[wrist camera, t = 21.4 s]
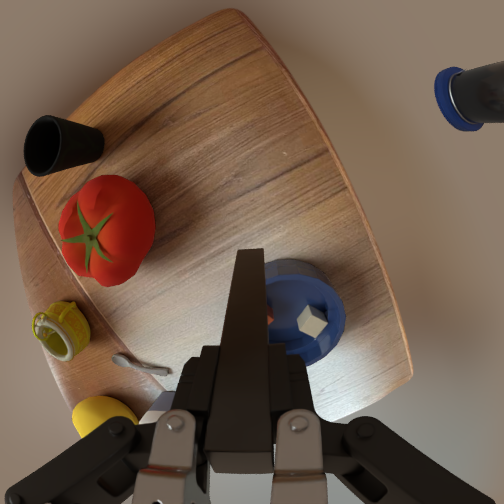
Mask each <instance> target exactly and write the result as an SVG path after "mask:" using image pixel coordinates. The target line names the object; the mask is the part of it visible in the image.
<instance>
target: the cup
mask: <svg viewBox="0 0 504 504" xmlns="http://www.w3.org/2000/svg"><path fill="white" fill-rule="evenodd" d="M104 144H105V143H104V137H103V134H102V133H101V132H100V131H99V130H98V129H95V128H92V127H89V126H85V125H82V124H79V123H75V122H72V121H69V120H65V119H61V118H58V117H54V116H51V115H45V116H42V117H40V118H39V119H37V120H36V121H35V122H34V123H33V125H32V126H31V128H30V129H29V131H28V134H27V136H26V139H25V143H24V159H25V164H26V166H27V168H28V170H29V171H30V172H31V173H32V174H33V175H35V176H38V177H41V176H45V175H49V174H52V173H55V172H58V171H62V170H65V169H69V168H72V167H76V166H80V165H84V164H87V163H91V162H94V161H96V160H97V159H98V158H99V157H100V156H101V154H102V152H103V149H104Z"/></svg>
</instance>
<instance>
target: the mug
mask: <svg viewBox="0 0 504 504" xmlns="http://www.w3.org/2000/svg"><path fill="white" fill-rule="evenodd" d="M40 314H43V315H42V317H41V318H40ZM36 318H38V321H37V323H36V325H35V320H36ZM35 327H36V332H37V335H36V332H35ZM32 330H33V333H34V335H35V337H36V338H37V339H38V340H39V341H40V343H41V344H42V346H43V347H44V349H45V350H46V351H47V352H48V353H49V354H50V355H52V356H53V357H54V358H56V359H58V360H61V361H66V362H67V361H71V360H72V359H73V358H74V356H75V355H77V354H79V353H80V352H81V351H83V349H84V348H85V347H86V346H87V345H88V344H89V340H90V327H89V324H88V322H87V320H86V318H85V317H84V315H83V314H82V313H81V311H80V310H79V309H78V308H77V306H76V303H75V302H71V303H69V302H64V301H58V302H55V303H53V304H52V305H51V306H50V307H49V308H48V309H47V310H46V312H45V313H43V312H39V313H37V314H36V315H35V316H34V318H33V321H32Z"/></svg>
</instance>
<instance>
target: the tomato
mask: <svg viewBox="0 0 504 504" xmlns="http://www.w3.org/2000/svg"><path fill="white" fill-rule="evenodd" d="M155 229H156V225H155V217H154V210H153V208H152V206H151V204H150V202H149V200H148V198H147V196H146V194H145V193H144V192H143V191H142V190H141V189H140V188H139V187H138V186H137V185H136V184H135V183H134V182H132V181H129V180H127V179H125V178H123V177H121V176H118V175H101V176H99V177H96V178H94V179H92V180H90V181H88V182H87V183H86V184H85V185H84V186H83V188H82V189H81V190H80V191H79V192H77V193H76V194H74V195H73V196H72V197H71V198H70V200H69V201H68V203H67V204H66V206H65V208H64V209H63V211H62V214H61V218H60V221H59V232H60V235H61V238H62V240H61V241H63V244H62V254H63V256H64V258H65V260H66V262H67V264H68V265H69V266H70V267H71V268H72V270H73V271H74V272H75V273H76V274H77V275H78V276H85V277H92V278H95V279H96V280H97V281H98V282H99V283H100V284H101V285H102V286H105V287H110V286H115V285H120V284H122V283H124V282H126V281H127V280H128V279H130V278H131V277H132V276H134V275H135V274H136V272H137V270H138V268H139V266H140V264H141V263H142V261H143V259H144V258H145V256H146V254H147V253H148V251H149V250H150V248H151V246H152V244H153V240H154V235H155Z"/></svg>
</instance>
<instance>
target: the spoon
mask: <svg viewBox="0 0 504 504" xmlns="http://www.w3.org/2000/svg"><path fill="white" fill-rule="evenodd" d="M112 361H113V362H114V363H115V364H116V365H118V366H121V367H131V368H134V369H136V370H139V371H142V372H146V373H151V374H156V375H160V376H167V374H168V369H166V368H151V367H144V366H139V365H136V364H133V363H131V362H130V361H129V360H128V358H127V357H125V356H124V355H121V354H114V355H113V356H112Z"/></svg>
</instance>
